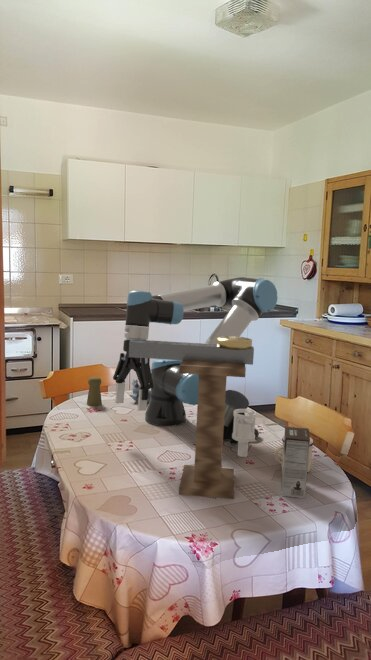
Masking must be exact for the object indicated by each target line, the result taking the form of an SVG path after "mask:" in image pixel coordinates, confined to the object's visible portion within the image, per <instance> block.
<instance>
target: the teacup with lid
mask: <svg viewBox="0 0 371 660" xmlns="http://www.w3.org/2000/svg"><path fill="white" fill-rule="evenodd" d="M281 441H282V445H279V446H277V448H275V450H274V452H273V453H274V459H275V461H277V462H278V463H280V467H281V468H282V462H283V448H284V435H283V436H282V439H281ZM314 444H315V443H314V440H313V438H312V437H310V446H309V458H308V469H307V472H308V473H310V471H311V469H312V459H313V458H312V457H313V448H314V447H313V446H314ZM280 451H281V458H280V459H279V452H280Z"/></svg>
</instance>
